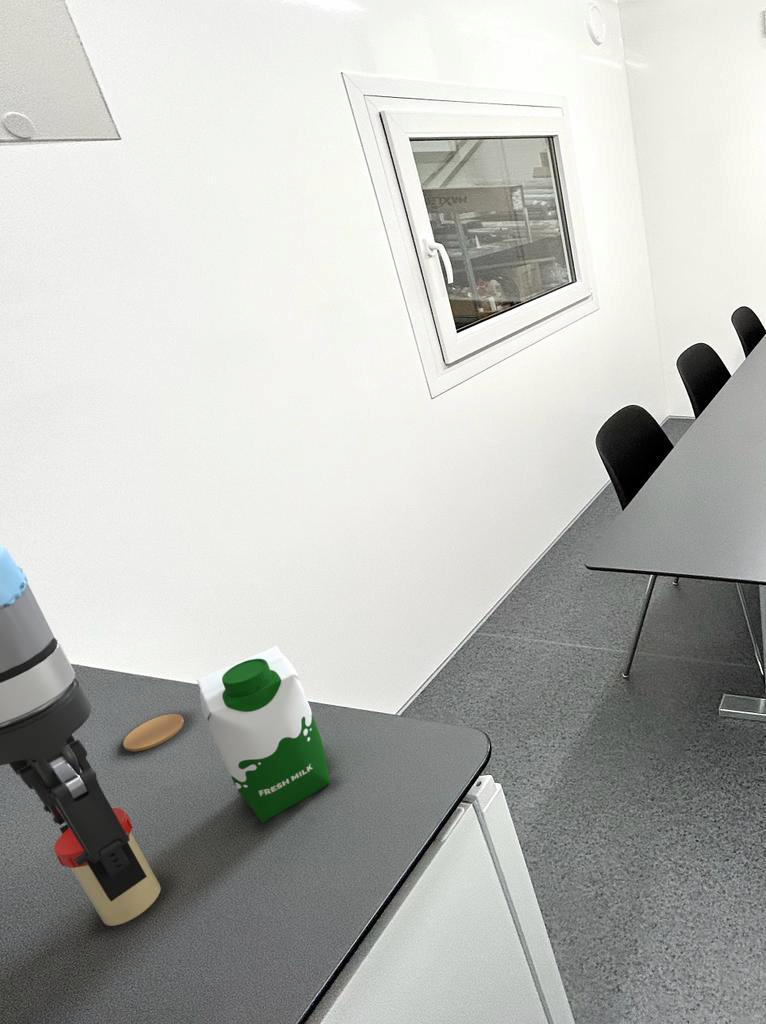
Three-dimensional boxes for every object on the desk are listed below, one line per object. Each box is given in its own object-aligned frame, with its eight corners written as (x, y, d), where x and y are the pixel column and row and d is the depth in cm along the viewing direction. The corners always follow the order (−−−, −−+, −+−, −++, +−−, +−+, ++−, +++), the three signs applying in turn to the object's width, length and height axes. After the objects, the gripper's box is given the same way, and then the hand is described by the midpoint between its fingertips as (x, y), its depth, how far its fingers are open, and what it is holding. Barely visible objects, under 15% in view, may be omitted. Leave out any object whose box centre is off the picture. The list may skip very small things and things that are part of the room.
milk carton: (255, 833, 74) (197, 704, 66) (237, 789, 79) (181, 665, 72) (341, 782, 80) (297, 659, 73) (319, 744, 85) (276, 626, 78)
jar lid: (65, 878, 60) (56, 865, 59) (58, 847, 63) (50, 834, 62) (136, 839, 64) (129, 826, 63) (127, 811, 66) (120, 798, 66)
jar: (89, 927, 64) (46, 857, 60) (130, 882, 68) (91, 815, 65) (134, 924, 65) (94, 855, 61) (172, 880, 69) (136, 813, 65)
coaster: (111, 752, 84) (109, 750, 84) (151, 717, 89) (150, 714, 89) (158, 750, 84) (156, 748, 84) (195, 715, 90) (194, 713, 90)
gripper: (-81, 696, 57) (31, 867, 65) (-15, 775, 50) (101, 956, 58) (40, 646, 63) (127, 807, 72) (114, 709, 56) (202, 881, 64)
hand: (116, 874), depth 65 cm, fingers closed on jar lid, 5 cm apart
